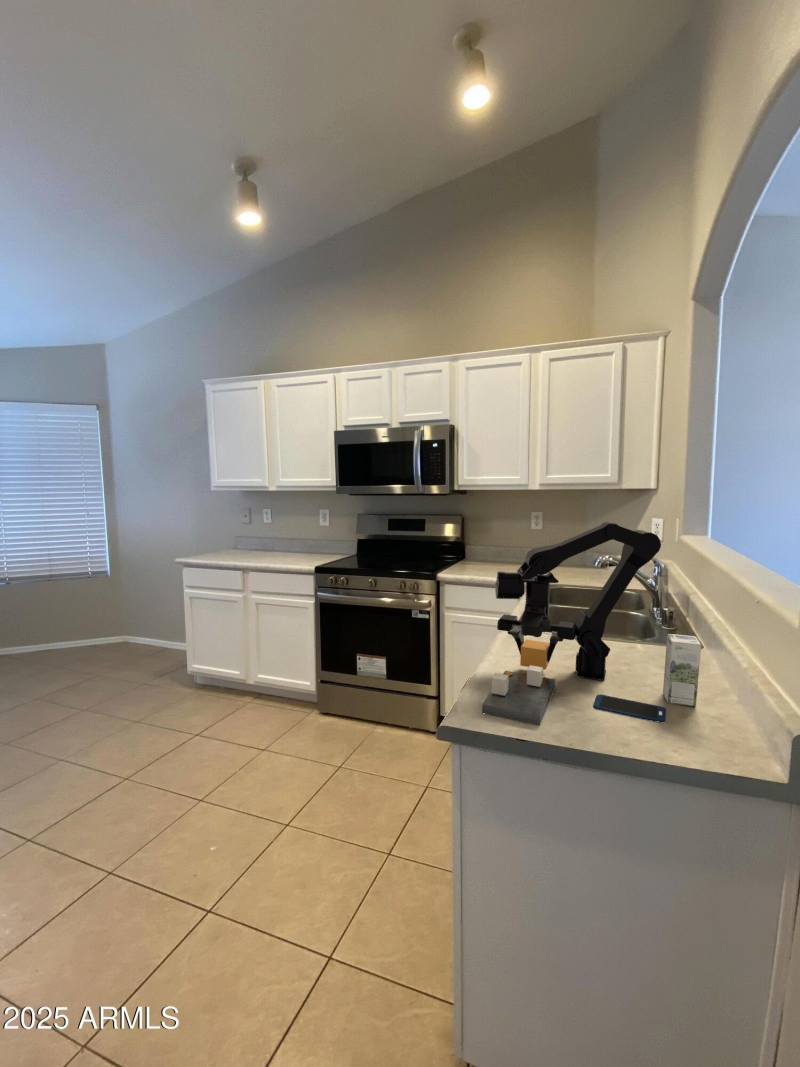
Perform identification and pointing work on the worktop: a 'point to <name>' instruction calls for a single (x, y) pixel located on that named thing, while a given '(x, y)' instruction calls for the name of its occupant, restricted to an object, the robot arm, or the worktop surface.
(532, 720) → the panel
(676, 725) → the worktop surface
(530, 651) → the orange squarish block
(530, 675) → the light grey block
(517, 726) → the worktop surface
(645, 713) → the cell phone
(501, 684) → the block
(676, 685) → the syrup box
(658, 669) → the worktop surface
